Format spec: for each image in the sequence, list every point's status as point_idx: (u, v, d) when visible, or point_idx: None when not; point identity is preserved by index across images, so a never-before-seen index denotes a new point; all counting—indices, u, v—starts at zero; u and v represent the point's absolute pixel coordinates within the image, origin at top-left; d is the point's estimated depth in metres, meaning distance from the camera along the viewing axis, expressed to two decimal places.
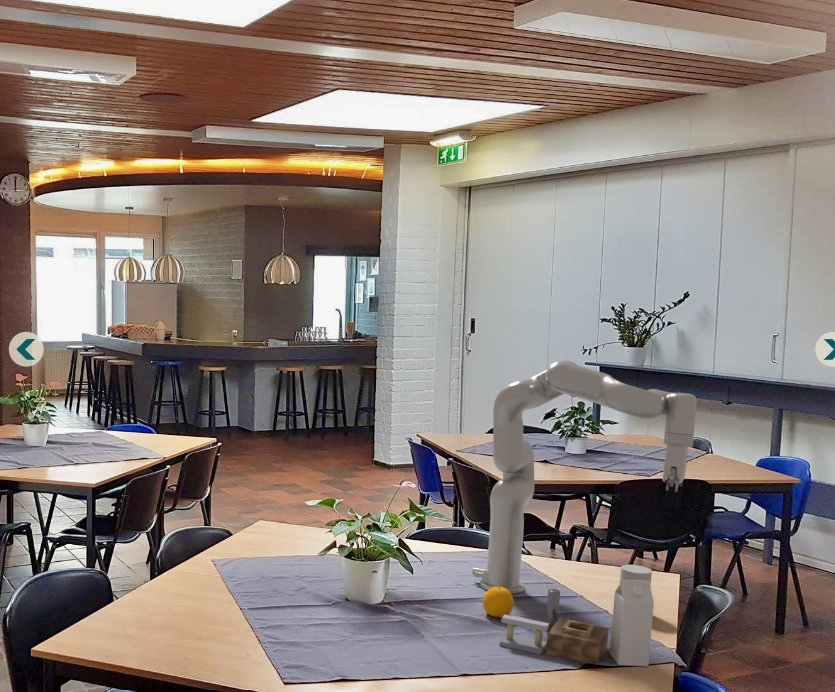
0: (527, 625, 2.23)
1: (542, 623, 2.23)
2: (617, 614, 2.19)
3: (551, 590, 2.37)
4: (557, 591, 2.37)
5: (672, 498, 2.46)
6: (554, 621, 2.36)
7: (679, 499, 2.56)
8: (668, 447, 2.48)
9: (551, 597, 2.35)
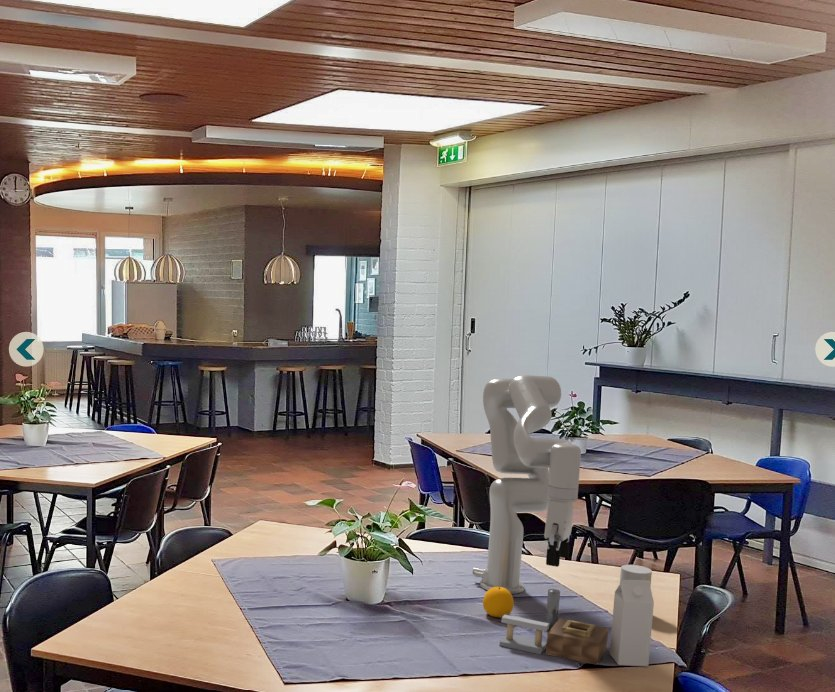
0: (527, 625, 2.23)
1: (542, 623, 2.23)
2: (617, 614, 2.19)
3: (551, 590, 2.37)
4: (557, 591, 2.37)
5: (553, 557, 2.30)
6: (554, 621, 2.36)
7: (565, 556, 2.40)
8: (550, 502, 2.32)
9: (551, 597, 2.35)
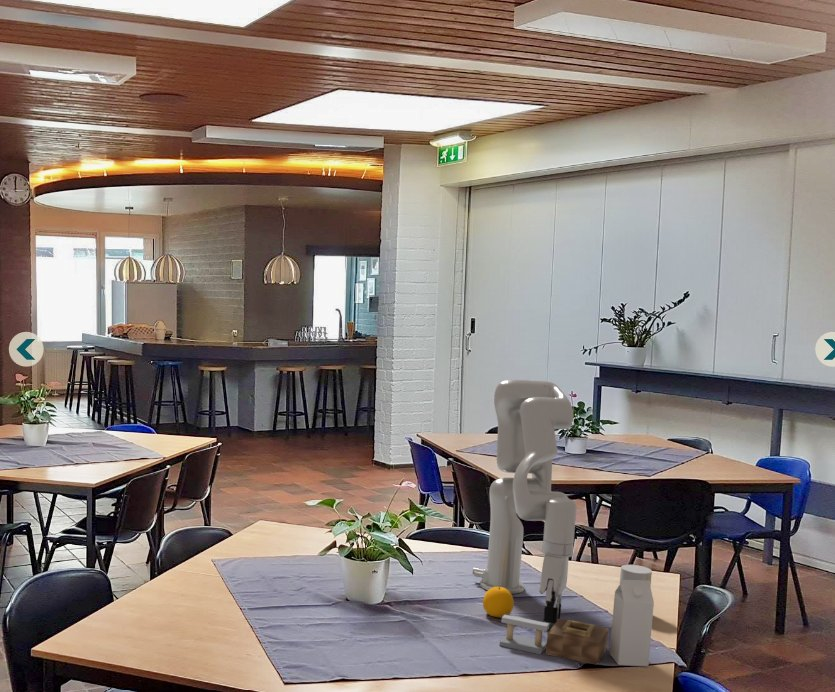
0: (527, 625, 2.23)
1: (542, 623, 2.23)
2: (617, 614, 2.19)
3: None
4: None
5: (551, 614, 2.34)
6: None
7: None
8: (545, 557, 2.33)
9: None
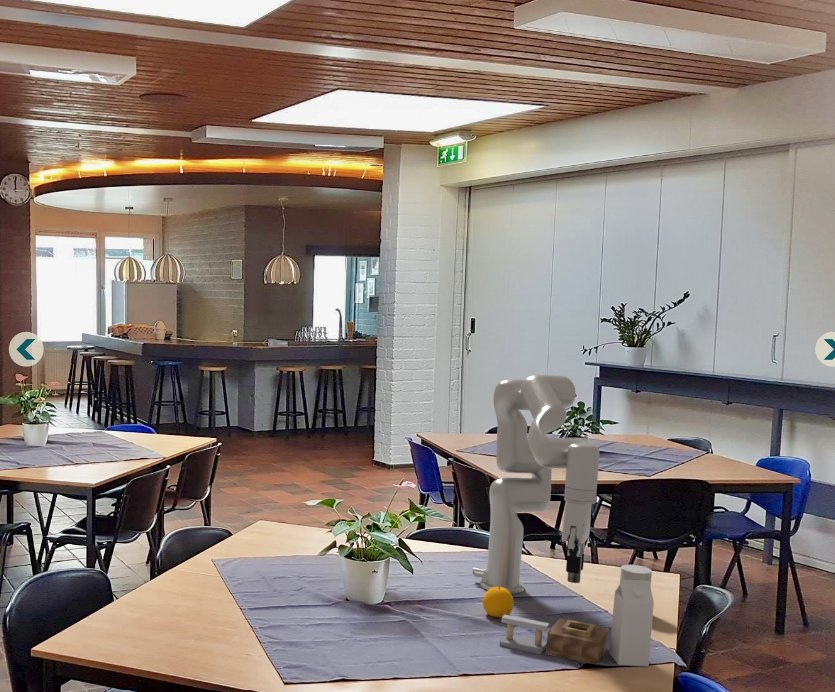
0: (527, 625, 2.23)
1: (542, 623, 2.23)
2: (617, 614, 2.19)
3: None
4: None
5: (574, 564, 2.24)
6: None
7: None
8: (567, 504, 2.23)
9: None
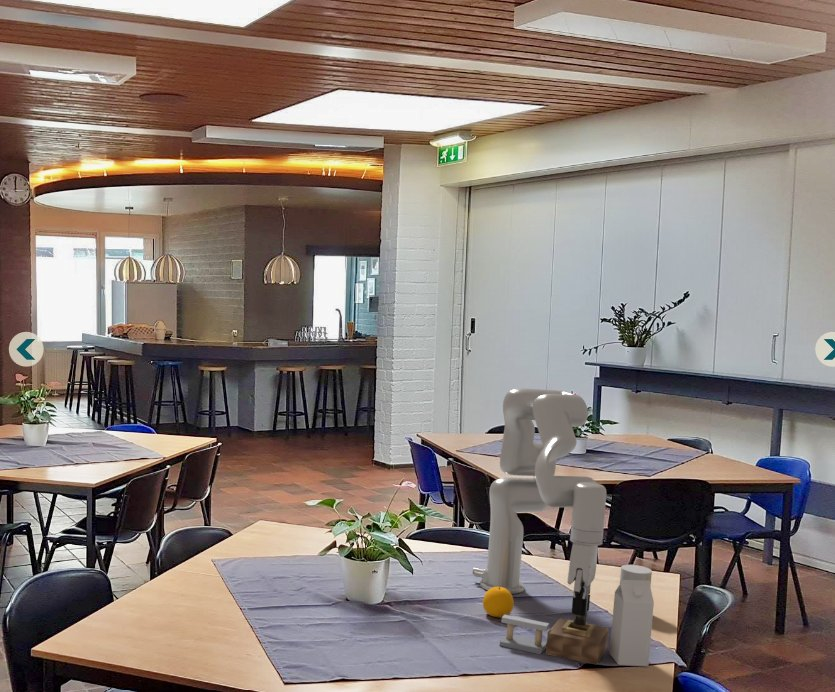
0: (527, 625, 2.23)
1: (542, 623, 2.23)
2: (617, 614, 2.19)
3: None
4: None
5: (580, 606, 2.20)
6: None
7: None
8: (573, 545, 2.19)
9: None
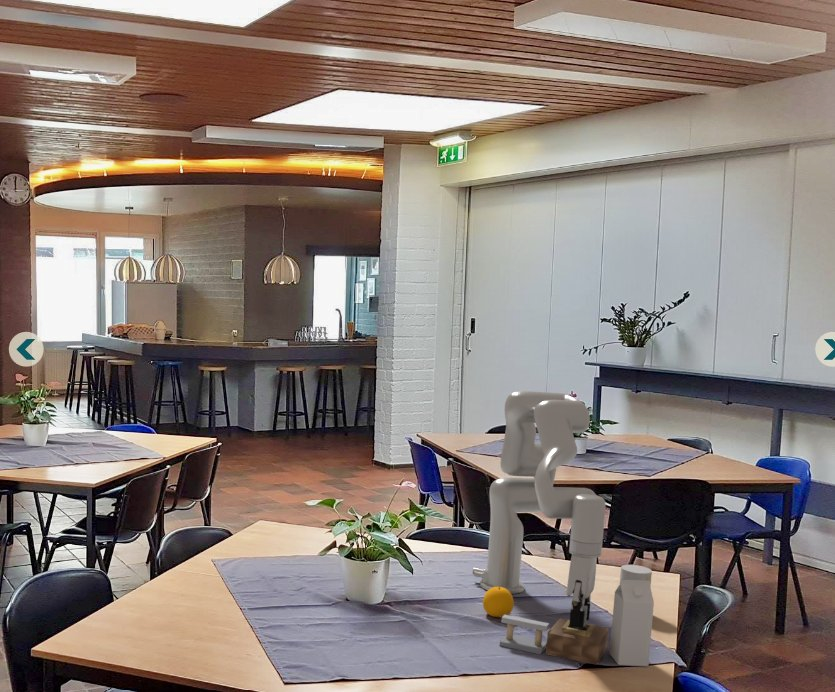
0: (527, 625, 2.23)
1: (542, 623, 2.23)
2: (617, 614, 2.19)
3: None
4: (584, 605, 2.23)
5: (577, 618, 2.19)
6: None
7: (586, 618, 2.25)
8: (572, 557, 2.19)
9: None
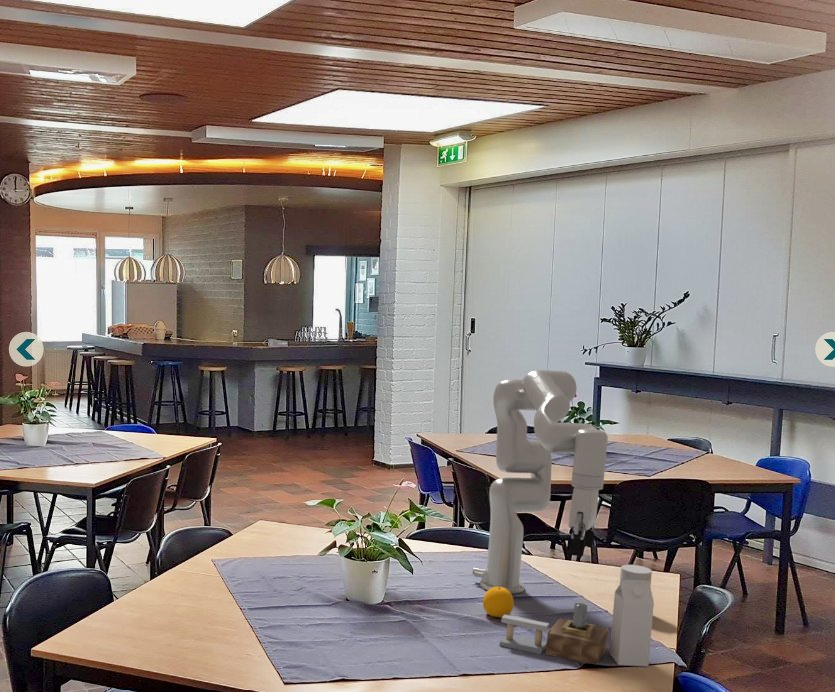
0: (527, 625, 2.23)
1: (542, 623, 2.23)
2: (617, 614, 2.19)
3: (578, 604, 2.23)
4: (584, 605, 2.23)
5: (577, 547, 2.22)
6: None
7: (589, 545, 2.31)
8: (574, 490, 2.23)
9: (577, 611, 2.22)
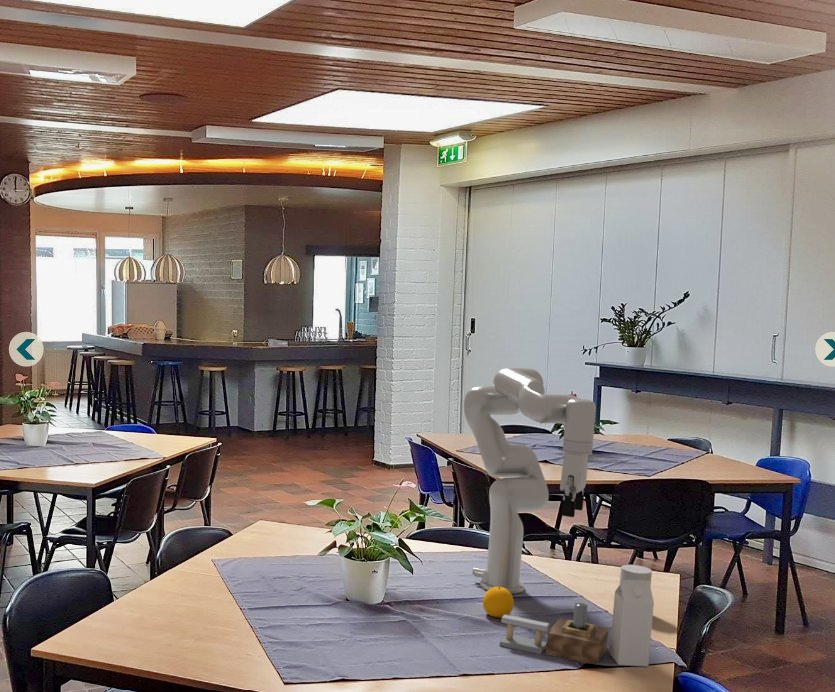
0: (527, 625, 2.23)
1: (542, 623, 2.23)
2: (617, 614, 2.19)
3: (578, 604, 2.24)
4: (584, 605, 2.23)
5: (569, 508, 2.38)
6: None
7: (580, 508, 2.47)
8: (565, 455, 2.40)
9: (578, 611, 2.22)
